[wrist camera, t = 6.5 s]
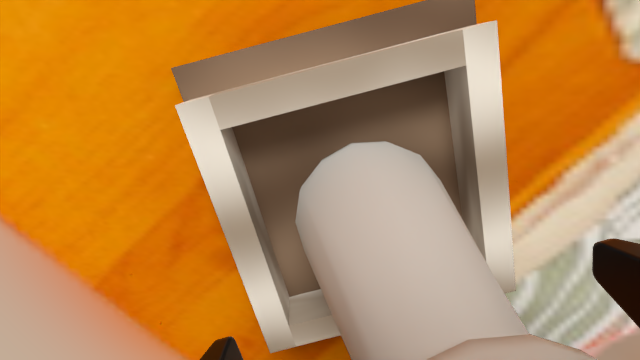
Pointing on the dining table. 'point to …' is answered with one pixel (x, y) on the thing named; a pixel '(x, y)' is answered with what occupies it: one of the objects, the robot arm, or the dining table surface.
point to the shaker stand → (346, 139)
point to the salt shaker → (405, 264)
